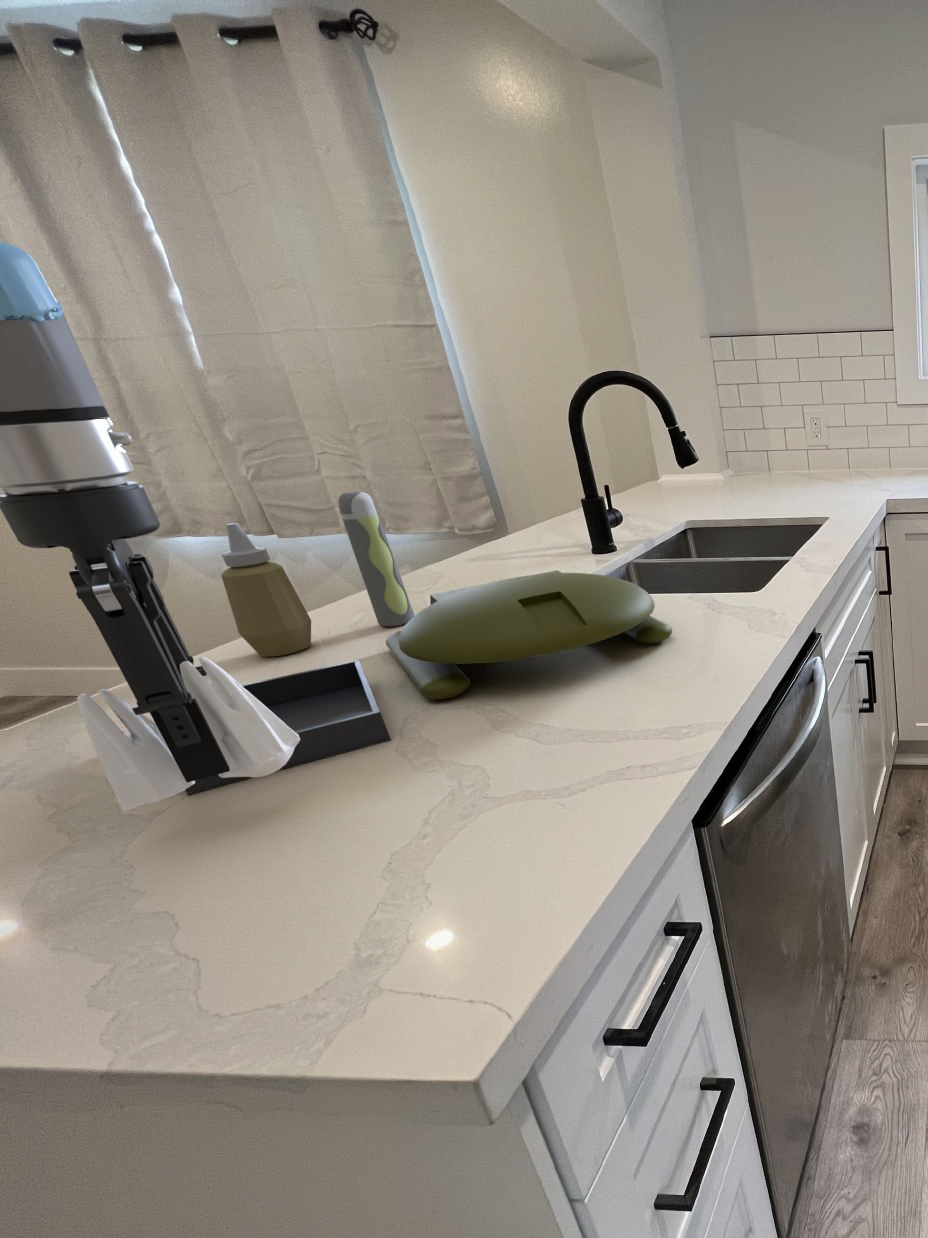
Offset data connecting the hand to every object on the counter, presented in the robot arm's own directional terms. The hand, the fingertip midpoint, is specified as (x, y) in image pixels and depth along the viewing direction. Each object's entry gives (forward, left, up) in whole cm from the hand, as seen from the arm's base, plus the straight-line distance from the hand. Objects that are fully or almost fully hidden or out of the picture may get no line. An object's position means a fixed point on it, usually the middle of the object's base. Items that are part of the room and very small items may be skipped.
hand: (209, 763), depth 65 cm
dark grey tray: (-19, +4, -6) cm, 20 cm away
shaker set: (0, 0, -2) cm, 2 cm away
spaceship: (-27, +32, -6) cm, 42 cm away
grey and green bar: (-57, +19, -6) cm, 60 cm away
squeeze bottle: (-54, +5, -6) cm, 55 cm away
